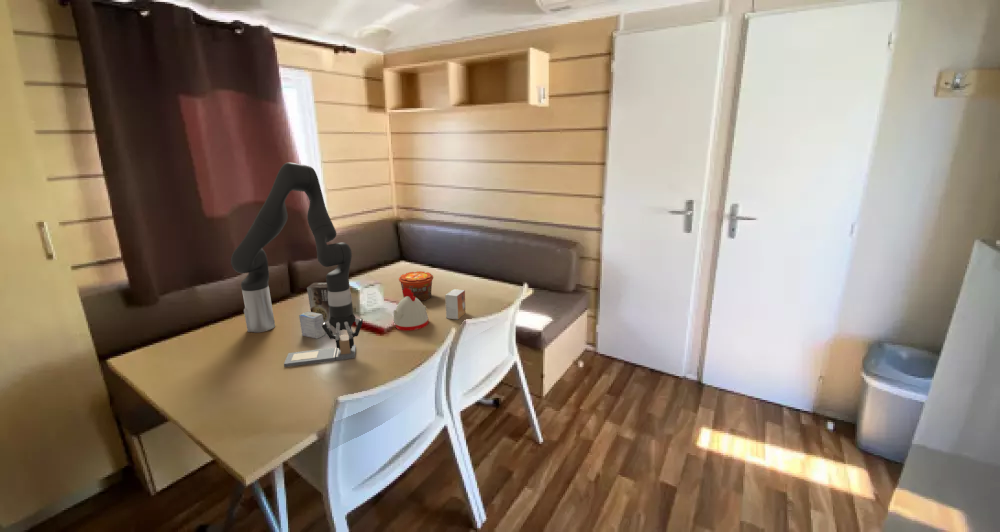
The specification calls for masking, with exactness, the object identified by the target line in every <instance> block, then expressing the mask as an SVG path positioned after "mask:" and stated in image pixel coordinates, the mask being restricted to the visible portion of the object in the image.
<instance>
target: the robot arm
mask: <svg viewBox="0 0 1000 532" xmlns="http://www.w3.org/2000/svg"><path fill="white" fill-rule="evenodd" d="M321 188H322V187H321V185H320V180H319V178H318V175H317V172H316V171H315V169H314V168H313V167H312V166H310V165H307V164H301V163H295V162H285V163H284V164H283V165H282V166H281V167H280V169H279V170H278V173H277V175H276V177H275V180H274V182H273V185H272V187H271V189H270V191H269V194H268V195H267V196H266V197H267V198H266V199H265V202H264V203H263V205H262V206H261V208H260V210H259V212H258V214H257V215H256V217H255V219H254V221H253V223H252V224H251V226H250V228H249V229H248V231H247V233H246V235H245V237H244V238H243V239H242V240H241V242H240V244H238V246H237V247H236V249H235V250H234V251H233V252H232V255H231V258H230V265H231V267H232V269H233V271H235V272H236V273H238V274H247V276H245V278H244V279H243V280H242V281H241V283H240V287H241V293H242V296H243V297H242V298H243V303H244V308H243V313H244V318H245V319H244V320H245V324H246V330H247V332H248V333H263V332H264V333H265V332H268V331H270V330H272V329H274V328H275V327H276V323H275V318H274V317H275V316H274V311H273V305H272V298H271V293H270V292H271V291H270V287H269V280H270V272H269V271H270V270H269V261H268V257H267V256H268V255H267V253H266V251H265V250H264V248H265V247H266V246H267V245H268V244H270V242H272V241H273V240H274V239H275V238H276V237H277V236H279V234H280V233H281V231H282V230H283V228H284V227H285V225H286V223H287V221H288V217H289V216H288V211H287V210H288V209H287V206H286V200H287V198H288V196H289V194H290V193H291V192H292V191H294V192H295V191H297V192H304V193H305V195H306V196H307V198H308V200H309V207H308V210H307V216H306V217H307V219H306V220H307V223H308V226H309V229H310V231H311V233H312V236H313V238H314V242H315V249H316V257H317V261H318V262H319V264H320V265H321V266H322V267H327V268H328V267H329V268H330V267H334V266H337V267H336V268H335V269H334V270H331V271H329V272H328V273H327V274H326V275H325V283H327V290H328V304H329V312H330V319H329V321H328V322H323V325H322V328H323V329H324V331H325V335H327V337H328V338H329V339H330V340H334V341H335V345H336V346H335V347H337V349H338V348H339V350H340V343H339V340H340V335H341V331H346V332H347V334H348V335H349V344H350V348H352V347H353V346H354V345H355V339H354V338H355V337H358V336H359V334H360V331H361V328H362V326H363V321H364V320H363V319H364V318H361V317H360V318H359V317H356V316H355V314H354V306H353V297H352V293H351V288H350V279H349V277H350V276H349V274H350V267H351V262H352V257H353V256H352V254H353V253H352V249H351V247H350V245H349V244H347V242H336V243H331V244H329V242H331V241H333V240H334V239H335V238H336V237H337V230H336V229H335V226H334V224H333V221H332V220H331V218H330V215H329V213H328V211H327V210H328V209H327V207H326V203H325V200H324V196H323V192H322V189H321ZM327 243H328V244H327ZM354 323H355V325H356V327H355V331H354V330H353V327H352V326H353V324H354ZM331 326H332V327H333V328H334V329H335V333H334V332H333V331H332V328H331Z"/></svg>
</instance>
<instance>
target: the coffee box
mask: <svg viewBox="0 0 1000 532" xmlns="http://www.w3.org/2000/svg"><path fill="white" fill-rule="evenodd" d="M306 290H307V296H308V297H307V298H308V303H309V310H310V312H314V313H319V314H322V315H323V321H324V322H328V321H329V319H330V312H329V304H328V290H327V282H313V283H310V285H308V286H307V287H306Z"/></svg>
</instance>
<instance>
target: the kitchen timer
mask: <svg viewBox="0 0 1000 532" xmlns="http://www.w3.org/2000/svg"><path fill="white" fill-rule="evenodd" d="M401 290H402V289H401ZM403 295H404V297H403V298H401V300H400V301H399V302H398V304H397V305H396V308H395V309H394V310H393V321H394V322H393V324H394V323H395V324H396V328H397V329H396V328H395V329H396V330H400V331H416V330H420V329H424V328H425V327H427V326H428V324H429V315H428V313H427V306H426V305H424V304H423V303H422V301H420V300H419V299H417V298H416V296H413V293H411V289H409V288H408V289H406V288H404V290H402V296H403Z"/></svg>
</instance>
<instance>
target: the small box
mask: <svg viewBox="0 0 1000 532" xmlns="http://www.w3.org/2000/svg"><path fill="white" fill-rule="evenodd" d="M444 297H445V317H446V319H453V320H459V319H460V318H461V317H463V316H464V315H465V314H466V290H464V289H457V288H456V289H454V288H453V289H452V290H451V291H448V293H446V294H445V295H444Z"/></svg>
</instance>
